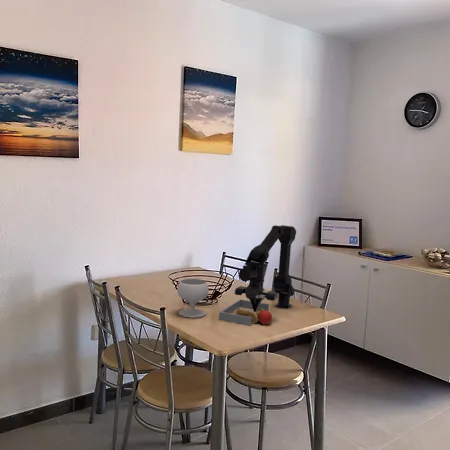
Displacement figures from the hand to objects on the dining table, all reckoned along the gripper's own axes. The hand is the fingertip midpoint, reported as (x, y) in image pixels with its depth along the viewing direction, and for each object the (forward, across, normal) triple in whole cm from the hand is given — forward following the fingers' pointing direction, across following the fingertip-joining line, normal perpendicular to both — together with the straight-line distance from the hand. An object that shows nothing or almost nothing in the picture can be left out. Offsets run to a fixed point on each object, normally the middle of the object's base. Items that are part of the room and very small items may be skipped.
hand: (255, 311), depth 207 cm
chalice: (+3, -26, -11) cm, 28 cm away
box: (+2, -4, 0) cm, 5 cm away
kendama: (+3, +1, -4) cm, 5 cm away
